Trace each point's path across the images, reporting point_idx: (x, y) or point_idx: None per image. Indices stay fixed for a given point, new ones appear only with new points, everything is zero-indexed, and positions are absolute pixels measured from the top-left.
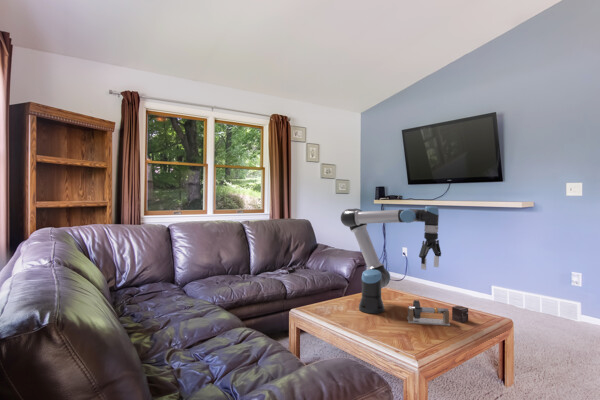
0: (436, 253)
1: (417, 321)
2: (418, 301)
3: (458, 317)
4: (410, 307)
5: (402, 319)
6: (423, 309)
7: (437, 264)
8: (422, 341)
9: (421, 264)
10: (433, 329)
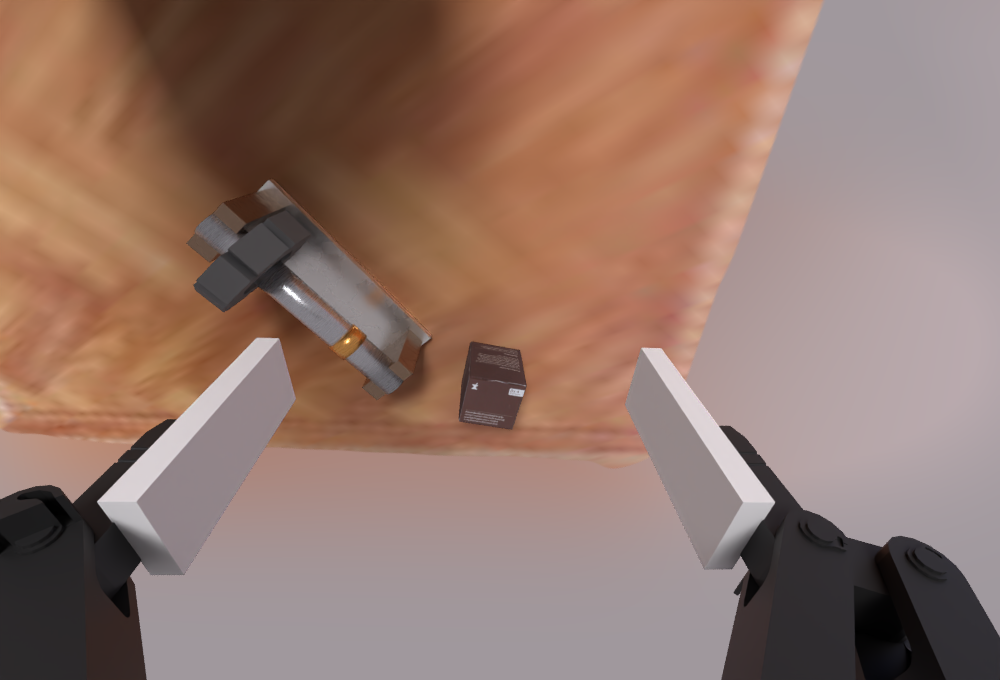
0: (740, 631)
1: None
2: (227, 294)
3: (462, 382)
4: (204, 239)
5: (231, 167)
6: (276, 301)
7: (641, 428)
8: (129, 377)
9: (211, 388)
10: None
